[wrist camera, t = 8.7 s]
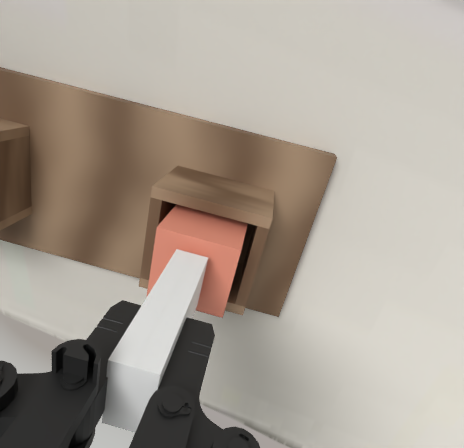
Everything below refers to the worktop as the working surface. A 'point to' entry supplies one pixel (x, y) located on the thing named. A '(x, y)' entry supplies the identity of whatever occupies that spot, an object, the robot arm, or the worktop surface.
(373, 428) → the worktop surface
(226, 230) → the salmon pink plug
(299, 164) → the socket panel
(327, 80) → the worktop surface
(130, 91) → the worktop surface
